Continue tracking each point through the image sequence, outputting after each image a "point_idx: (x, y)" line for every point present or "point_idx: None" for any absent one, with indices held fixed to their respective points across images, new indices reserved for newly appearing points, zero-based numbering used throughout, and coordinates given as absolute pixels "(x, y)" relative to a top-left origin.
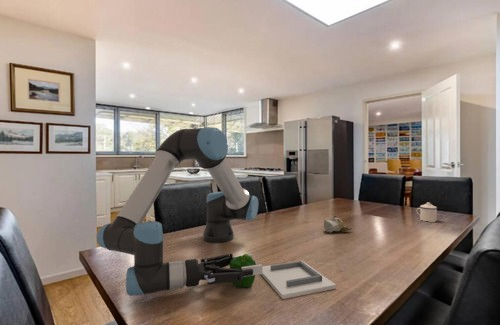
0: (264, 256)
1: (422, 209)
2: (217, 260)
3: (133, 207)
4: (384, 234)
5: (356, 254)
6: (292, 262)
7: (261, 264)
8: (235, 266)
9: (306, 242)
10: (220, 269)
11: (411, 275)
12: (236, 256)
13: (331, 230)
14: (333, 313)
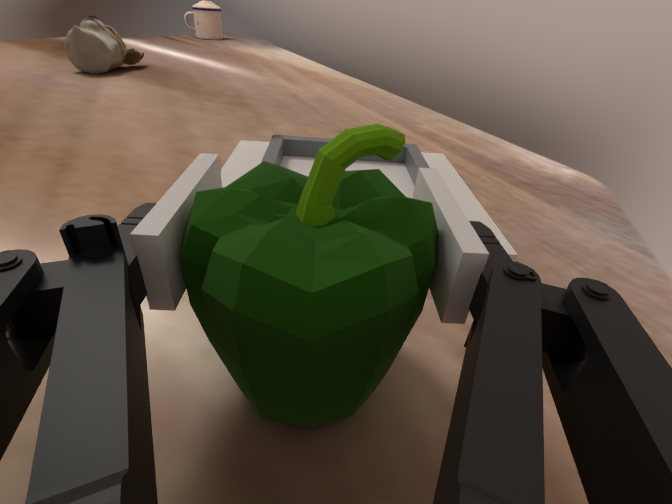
0: (54, 190)
1: (201, 12)
2: (54, 439)
3: None
4: (210, 60)
5: (269, 97)
6: (270, 147)
7: (424, 168)
8: (397, 288)
9: (98, 103)
10: (527, 493)
11: (403, 101)
12: (162, 217)
13: (108, 63)
14: (589, 211)
